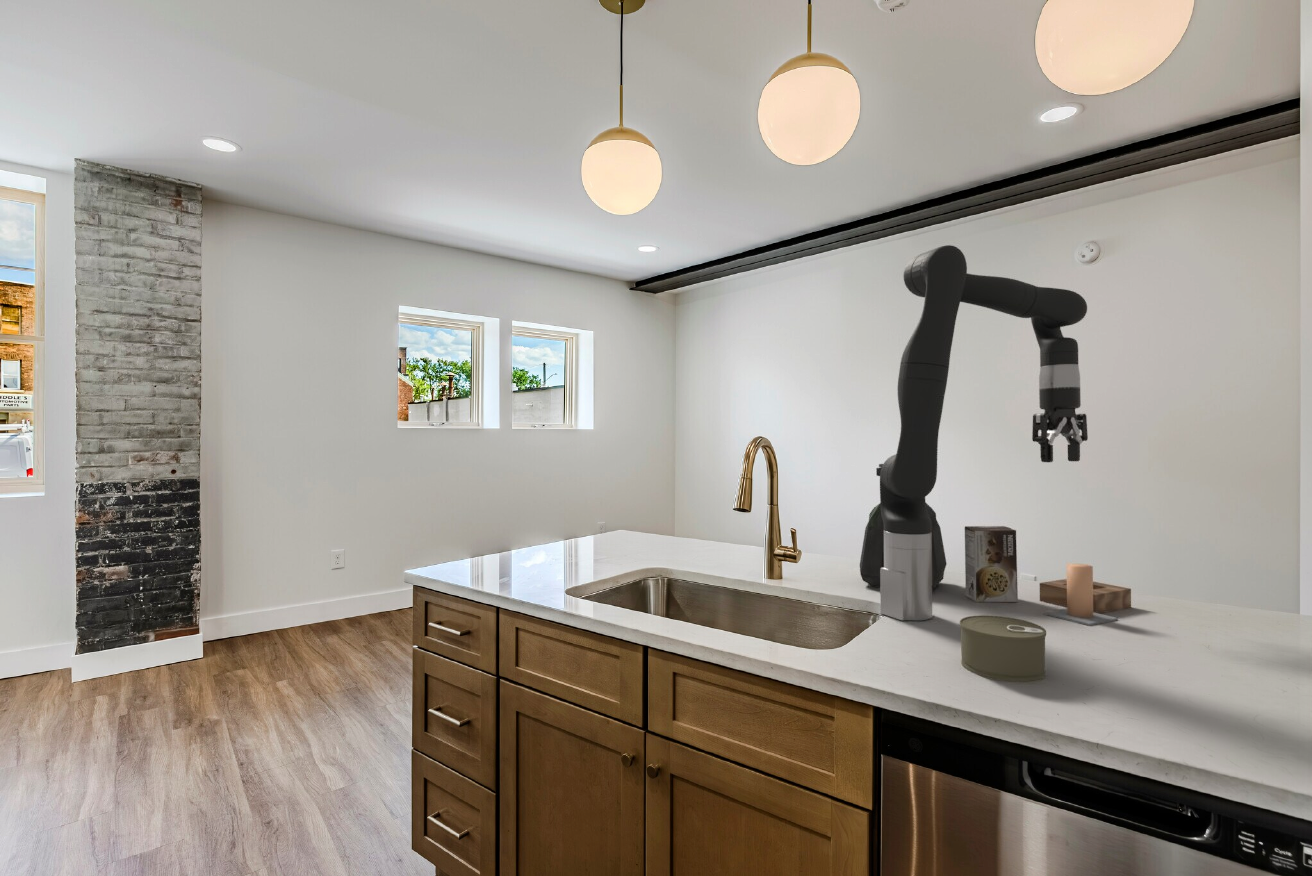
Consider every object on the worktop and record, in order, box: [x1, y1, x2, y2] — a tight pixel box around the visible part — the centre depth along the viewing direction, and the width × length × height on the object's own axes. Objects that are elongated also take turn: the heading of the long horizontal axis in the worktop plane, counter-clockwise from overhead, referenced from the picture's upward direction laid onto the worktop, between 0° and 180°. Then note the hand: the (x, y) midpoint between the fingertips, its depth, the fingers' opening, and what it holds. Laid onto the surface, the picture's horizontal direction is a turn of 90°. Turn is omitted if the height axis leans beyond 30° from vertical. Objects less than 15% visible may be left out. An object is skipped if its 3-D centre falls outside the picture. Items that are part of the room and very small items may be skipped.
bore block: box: [1039, 578, 1132, 614], centre depth 139 cm, size 12×12×4 cm
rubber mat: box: [1043, 607, 1118, 627], centre depth 129 cm, size 9×9×1 cm
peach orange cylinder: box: [1066, 563, 1094, 618], centre depth 129 cm, size 4×4×10 cm
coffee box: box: [964, 525, 1019, 603], centre depth 144 cm, size 9×6×16 cm
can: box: [959, 614, 1047, 683], centre depth 100 cm, size 12×12×7 cm
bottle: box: [859, 463, 948, 590], centre depth 158 cm, size 18×16×30 cm
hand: (1060, 461), depth 138 cm, fingers open, 8 cm apart
